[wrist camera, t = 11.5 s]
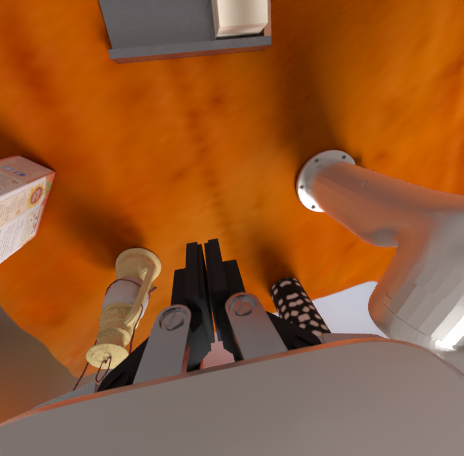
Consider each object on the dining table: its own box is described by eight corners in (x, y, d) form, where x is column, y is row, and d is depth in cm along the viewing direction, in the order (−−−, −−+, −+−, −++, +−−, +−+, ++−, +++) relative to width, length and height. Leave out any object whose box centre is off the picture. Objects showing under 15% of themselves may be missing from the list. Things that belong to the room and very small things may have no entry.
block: (253, -20, 30) (266, -48, 25) (255, 36, 33) (267, 22, 28) (209, -18, 30) (212, -45, 25) (215, 40, 33) (219, 26, 27)
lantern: (137, 294, 52) (82, 480, 26) (101, 269, 48) (-12, 463, 21) (176, 264, 50) (158, 434, 24) (141, 235, 46) (73, 404, 19)
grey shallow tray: (262, -33, 31) (270, -48, 28) (264, 50, 35) (271, 44, 32) (93, -24, 29) (82, -39, 26) (117, 63, 33) (110, 59, 30)
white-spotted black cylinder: (264, 297, 59) (294, 376, 41) (281, 273, 56) (322, 347, 39) (289, 305, 62) (327, 382, 44) (307, 283, 59) (355, 356, 41)
